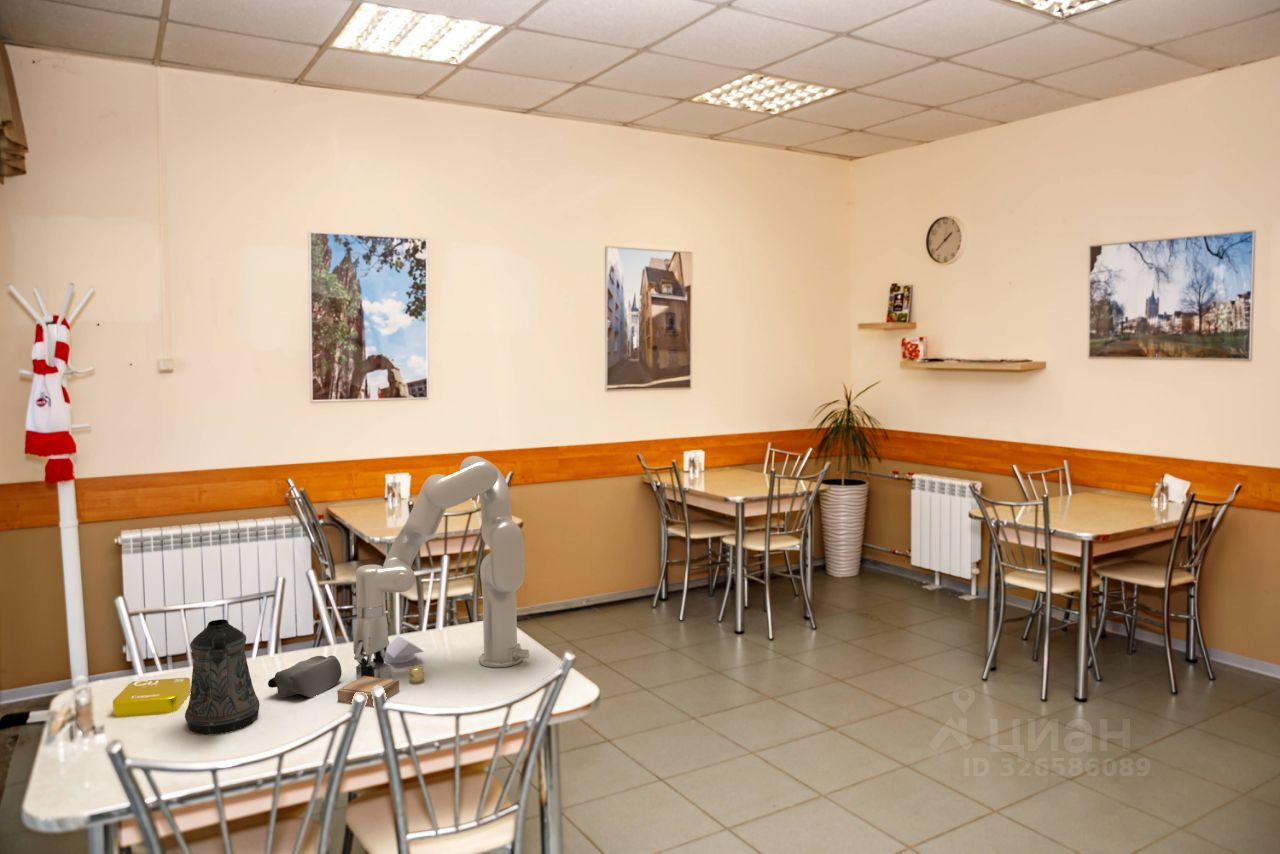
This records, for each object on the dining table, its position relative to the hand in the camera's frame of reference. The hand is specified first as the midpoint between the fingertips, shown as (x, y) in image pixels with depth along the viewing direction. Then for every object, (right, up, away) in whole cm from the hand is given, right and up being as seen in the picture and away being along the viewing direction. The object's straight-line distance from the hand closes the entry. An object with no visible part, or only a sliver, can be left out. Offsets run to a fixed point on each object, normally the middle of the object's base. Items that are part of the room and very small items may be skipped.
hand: (372, 675), depth 252 cm
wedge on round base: (+4, 0, +16) cm, 17 cm away
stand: (+2, -2, -12) cm, 12 cm away
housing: (0, -1, 0) cm, 1 cm away
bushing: (+12, -1, -2) cm, 13 cm away
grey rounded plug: (-16, -2, -7) cm, 17 cm away
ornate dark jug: (-27, -4, -28) cm, 39 cm away
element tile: (-52, -4, -15) cm, 54 cm away
